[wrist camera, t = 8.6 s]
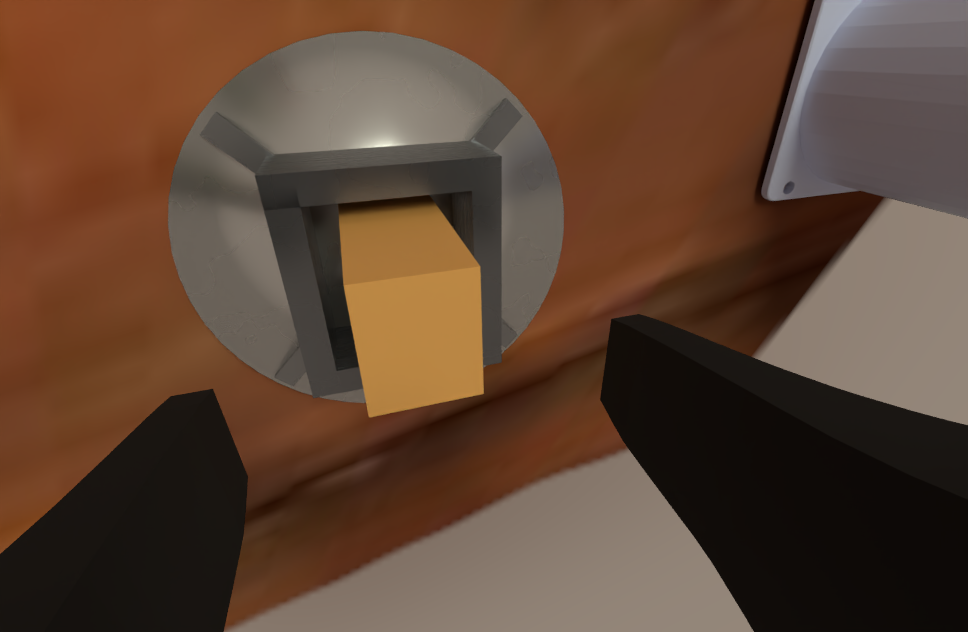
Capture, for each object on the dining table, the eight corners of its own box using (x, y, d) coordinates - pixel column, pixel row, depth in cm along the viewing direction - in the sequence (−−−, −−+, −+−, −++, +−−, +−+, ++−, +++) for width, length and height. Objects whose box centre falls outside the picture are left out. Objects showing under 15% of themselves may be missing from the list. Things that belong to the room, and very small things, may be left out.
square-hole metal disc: (562, 29, 14) (625, 23, 11) (544, 356, 20) (581, 409, 17) (103, 35, 11) (23, 29, 8) (243, 414, 17) (226, 488, 14)
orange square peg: (425, 190, 14) (480, 266, 9) (433, 284, 16) (483, 393, 11) (337, 198, 13) (343, 285, 8) (355, 296, 15) (369, 417, 10)
